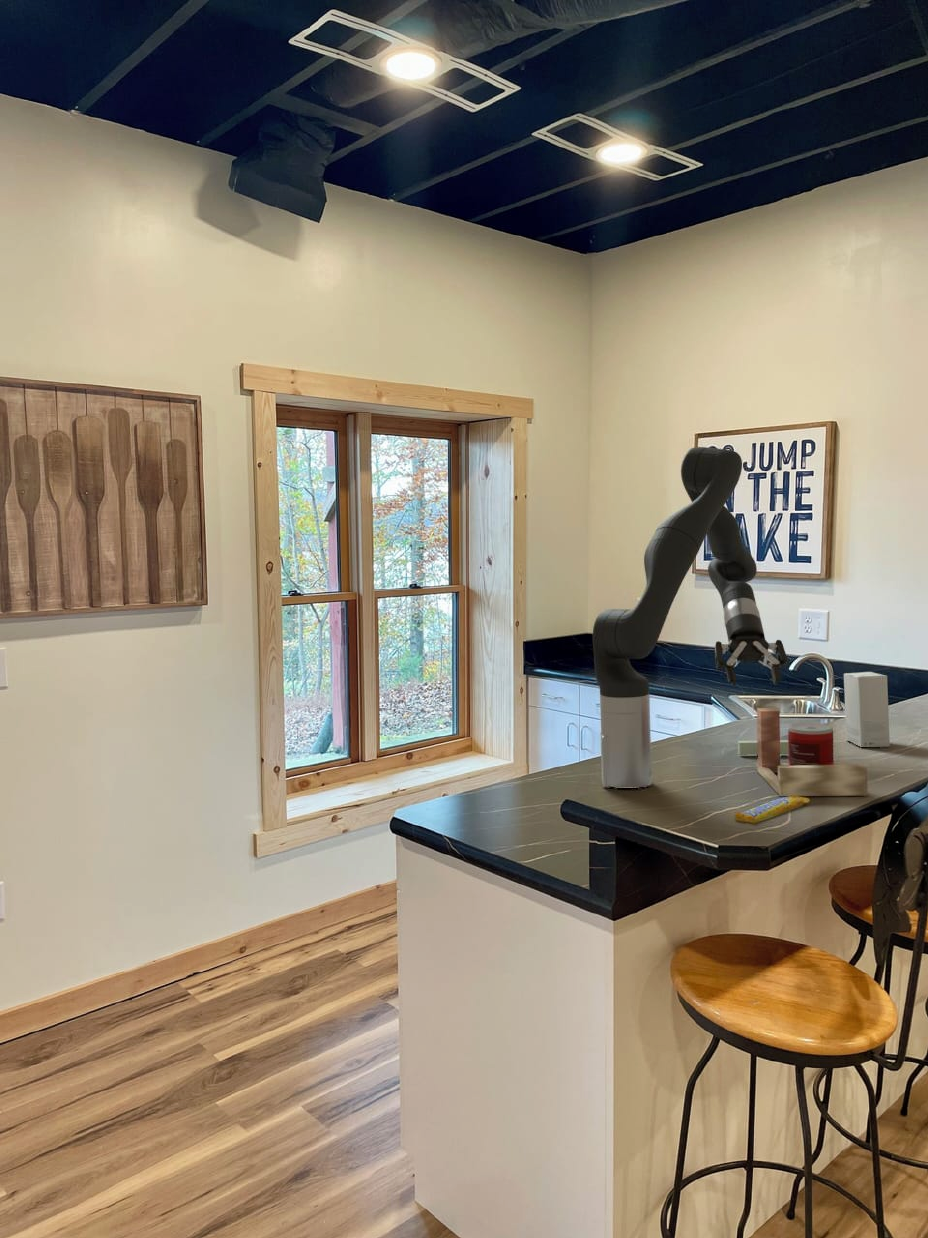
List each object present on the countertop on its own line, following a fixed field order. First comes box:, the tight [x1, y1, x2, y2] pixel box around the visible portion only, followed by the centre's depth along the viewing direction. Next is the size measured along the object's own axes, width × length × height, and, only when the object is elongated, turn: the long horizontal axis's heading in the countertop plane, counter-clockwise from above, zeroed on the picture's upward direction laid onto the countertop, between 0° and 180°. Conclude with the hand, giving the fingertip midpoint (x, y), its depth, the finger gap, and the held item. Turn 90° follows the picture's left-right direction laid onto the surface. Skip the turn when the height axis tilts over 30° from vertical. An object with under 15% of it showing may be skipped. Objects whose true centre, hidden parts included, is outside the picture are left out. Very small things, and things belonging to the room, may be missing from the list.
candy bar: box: [733, 796, 811, 825], centre depth 148 cm, size 17×4×2 cm, turn 128°
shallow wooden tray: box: [755, 707, 868, 797], centre depth 165 cm, size 15×20×12 cm
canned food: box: [787, 722, 835, 766], centre depth 163 cm, size 8×8×11 cm
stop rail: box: [737, 739, 789, 756], centre depth 189 cm, size 16×2×3 cm, turn 84°
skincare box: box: [843, 671, 891, 748], centre depth 195 cm, size 8×7×16 cm
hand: (755, 683), depth 185 cm, fingers open, 8 cm apart
